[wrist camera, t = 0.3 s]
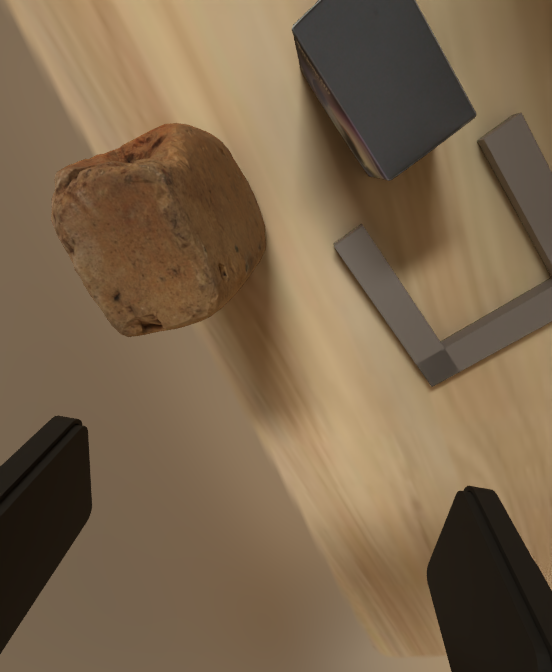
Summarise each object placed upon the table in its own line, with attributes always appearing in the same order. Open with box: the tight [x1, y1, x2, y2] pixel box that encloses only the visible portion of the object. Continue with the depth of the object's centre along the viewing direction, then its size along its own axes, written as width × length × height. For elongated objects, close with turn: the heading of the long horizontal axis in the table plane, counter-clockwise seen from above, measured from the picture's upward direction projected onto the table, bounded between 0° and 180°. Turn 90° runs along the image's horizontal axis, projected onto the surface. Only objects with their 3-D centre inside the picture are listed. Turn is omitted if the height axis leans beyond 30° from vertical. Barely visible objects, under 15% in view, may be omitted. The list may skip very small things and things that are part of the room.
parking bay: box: [334, 113, 552, 387], centre depth 36 cm, size 17×17×2 cm
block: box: [51, 123, 266, 337], centre depth 28 cm, size 11×8×20 cm
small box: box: [292, 0, 476, 181], centre depth 28 cm, size 11×6×10 cm, turn 38°
